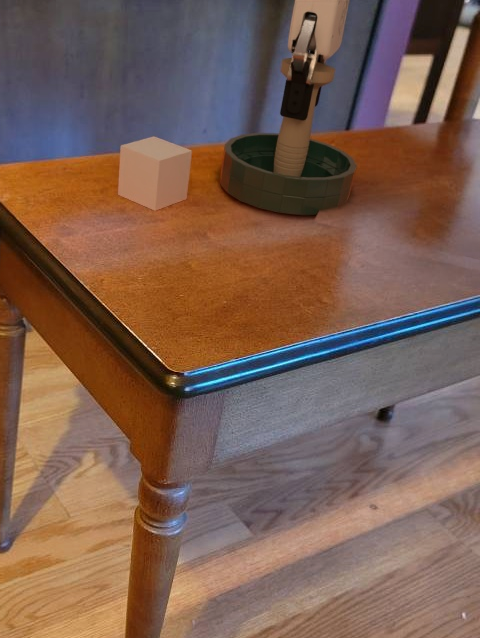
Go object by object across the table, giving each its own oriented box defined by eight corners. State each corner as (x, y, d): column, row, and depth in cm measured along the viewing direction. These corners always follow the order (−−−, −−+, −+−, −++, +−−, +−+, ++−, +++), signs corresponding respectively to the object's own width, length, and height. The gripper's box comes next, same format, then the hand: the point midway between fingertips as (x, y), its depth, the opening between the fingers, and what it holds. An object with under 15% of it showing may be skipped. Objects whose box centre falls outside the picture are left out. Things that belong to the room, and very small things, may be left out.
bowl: (355, 186, 101) (364, 150, 98) (335, 231, 88) (345, 190, 85) (238, 160, 104) (244, 124, 101) (203, 199, 91) (208, 159, 88)
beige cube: (117, 195, 90) (120, 145, 86) (149, 184, 94) (153, 136, 90) (155, 211, 87) (159, 160, 84) (186, 199, 91) (192, 150, 88)
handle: (274, 177, 99) (297, 56, 90) (314, 192, 96) (342, 69, 87) (253, 184, 96) (274, 60, 87) (293, 201, 93) (320, 74, 84)
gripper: (356, -52, 72) (316, 136, 83) (378, -63, 85) (340, 100, 96) (281, -64, 73) (251, 122, 84) (314, -72, 86) (284, 89, 97)
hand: (299, 109), depth 90 cm, fingers open, 6 cm apart
